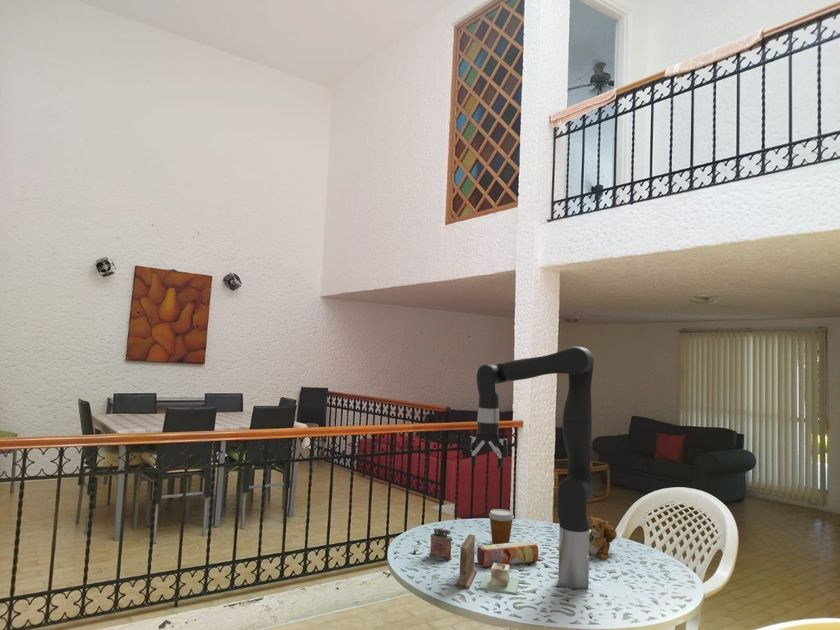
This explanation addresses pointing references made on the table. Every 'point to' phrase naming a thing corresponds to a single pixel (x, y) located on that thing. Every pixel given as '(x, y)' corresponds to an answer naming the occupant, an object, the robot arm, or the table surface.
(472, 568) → the walnut screen
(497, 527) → the disposable coffee cup
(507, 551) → the snack package
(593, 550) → the stuffed squirrel
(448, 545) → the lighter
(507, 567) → the letter cube
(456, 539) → the table surface
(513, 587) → the sage pad
